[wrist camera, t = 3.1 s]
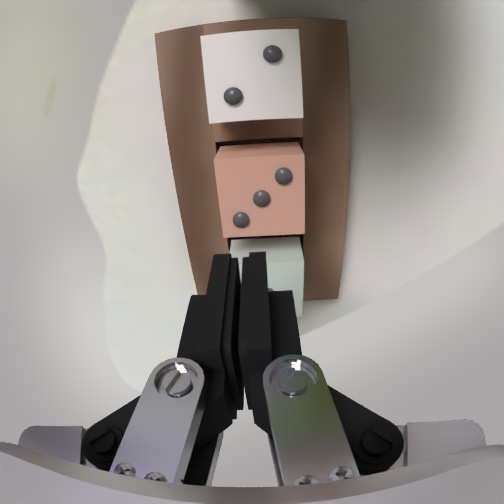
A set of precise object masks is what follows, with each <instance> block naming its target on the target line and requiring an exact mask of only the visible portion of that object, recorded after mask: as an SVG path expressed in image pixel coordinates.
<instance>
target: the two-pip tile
mask: <svg viewBox="0 0 504 504" xmlns="http://www.w3.org/2000/svg"><path fill="white" fill-rule="evenodd" d="M200 38H201V49H202V60H203V70H204V80H205V89H206V99H207V108H208V117H209V124H212V123H222V122H233V121H246V120H262V119H284V118H303V95H302V75H301V58H300V44H299V30H298V29H271V30H252V31H239V32H229V33H220V34H212V35H204V36H200Z"/></svg>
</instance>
